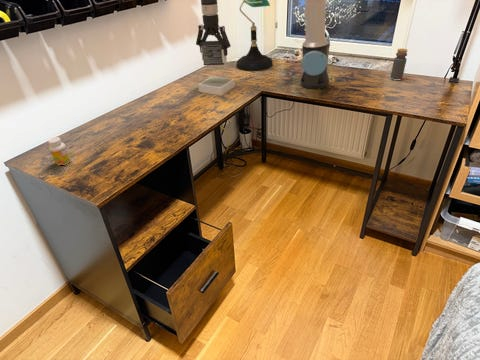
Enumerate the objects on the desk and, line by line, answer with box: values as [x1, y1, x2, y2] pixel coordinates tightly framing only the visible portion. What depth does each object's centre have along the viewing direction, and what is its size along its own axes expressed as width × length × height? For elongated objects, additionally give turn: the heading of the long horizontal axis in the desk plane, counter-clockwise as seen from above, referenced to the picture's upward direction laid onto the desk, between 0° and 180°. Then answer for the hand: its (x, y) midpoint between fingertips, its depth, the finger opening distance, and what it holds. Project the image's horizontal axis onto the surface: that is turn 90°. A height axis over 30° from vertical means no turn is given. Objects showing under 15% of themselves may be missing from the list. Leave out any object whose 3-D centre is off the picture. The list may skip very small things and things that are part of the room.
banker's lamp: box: [235, 0, 274, 72], centre depth 197 cm, size 26×23×40 cm
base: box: [197, 75, 236, 96], centre depth 177 cm, size 14×14×4 cm
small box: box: [201, 40, 225, 66], centre depth 167 cm, size 11×6×10 cm, turn 84°
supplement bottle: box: [48, 136, 72, 166], centre depth 122 cm, size 5×5×10 cm
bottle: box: [390, 48, 409, 79], centre depth 172 cm, size 6×6×15 cm
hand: (214, 60), depth 169 cm, fingers closed on small box, 12 cm apart
